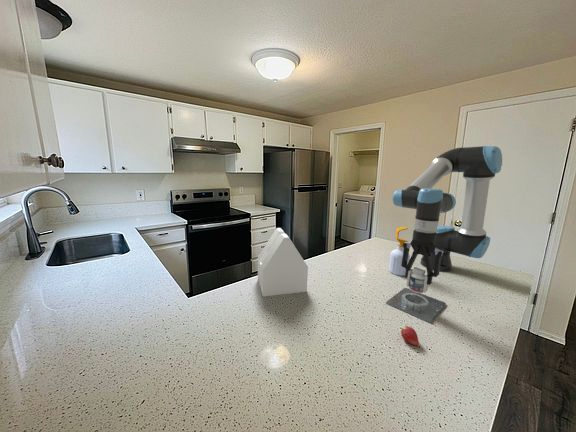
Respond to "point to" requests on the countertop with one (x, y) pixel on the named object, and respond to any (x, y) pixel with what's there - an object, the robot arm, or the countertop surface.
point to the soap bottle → (398, 256)
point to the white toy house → (281, 267)
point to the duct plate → (419, 314)
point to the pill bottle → (417, 280)
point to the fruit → (409, 335)
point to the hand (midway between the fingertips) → (416, 288)
